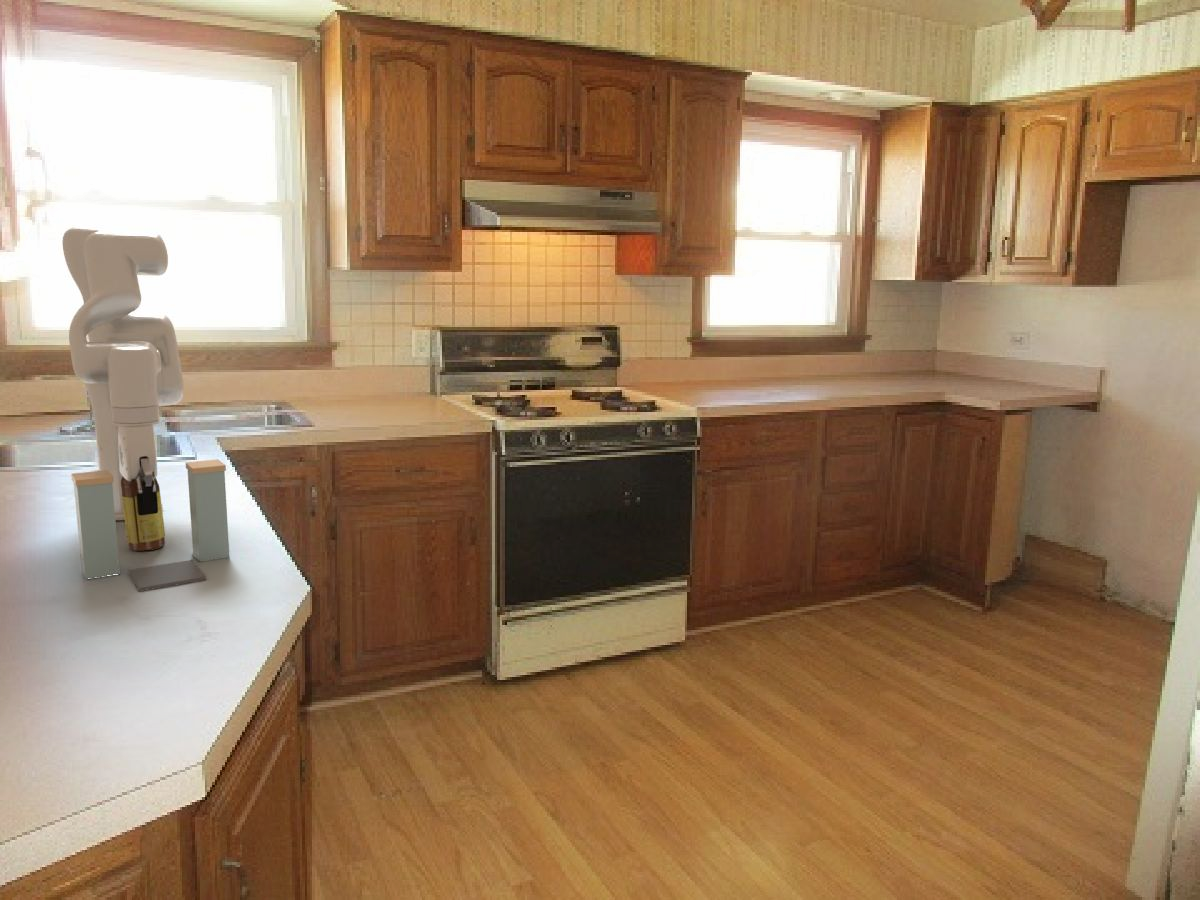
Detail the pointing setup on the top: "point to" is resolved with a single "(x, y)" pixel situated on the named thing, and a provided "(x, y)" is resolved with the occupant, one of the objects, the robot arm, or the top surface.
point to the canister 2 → (208, 509)
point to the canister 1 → (96, 523)
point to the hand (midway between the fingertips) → (143, 507)
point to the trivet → (166, 575)
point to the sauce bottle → (141, 519)
